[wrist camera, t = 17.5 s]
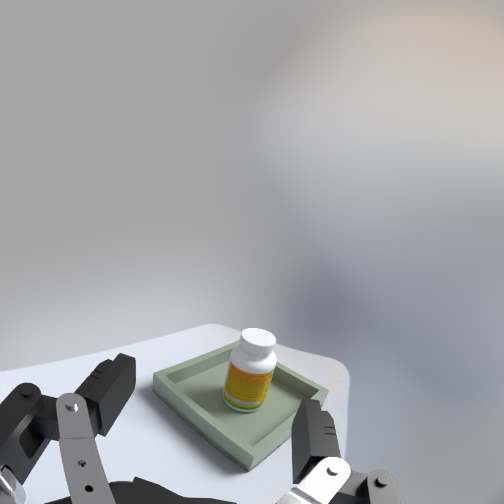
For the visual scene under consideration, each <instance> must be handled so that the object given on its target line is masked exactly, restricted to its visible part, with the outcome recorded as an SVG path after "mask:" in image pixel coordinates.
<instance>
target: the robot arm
mask: <svg viewBox="0 0 504 504" xmlns="http://www.w3.org/2000/svg"><path fill="white" fill-rule="evenodd" d="M135 384H136V360H135V358H134V357H131V356H128V355H125V354H122V353H120V354H118V356H117V357H116V358H115V359H114V360H113V361H112V360H109V359H107V360H105V361H103V362H101V363H100V364H99V365H98V366H97V367H96V368H95V369H94V371H92V373H91V374H90V376H88V377H87V378H86V379H85V381H84V382H83V383H82V384H81V385H80V386H79V388H78V389H77V390H76V391H75V392H74V393H66V394H63V395H61V396H60V397H59V398H54V397H50V396H46V395H42V394H41V391H40V389H39V388H38V387H37V386H36V385H34V384H32V383H22V384H19V385H18V386H17V387H16V388H15V389H14V390H13V391H12V392H11V393H10V394H9V395H8V396H7V397H6V398H5V399H4V401H3V402H2V403H1V404H0V504H24V502H25V499H26V494H25V491H24V489H23V487H22V485H23V483H24V482H25V480H26V479H27V477H28V475H29V474H30V472H31V470H32V469H33V467H34V466H35V464H36V462H37V461H38V459H39V458H40V456H41V455H42V453H43V451H44V450H45V448H46V447H47V445H48V444H49V442H50V441H51V440H55V441H59V446H60V451H61V457H62V462H63V467H64V472H65V476H66V481H67V485H68V489H69V493H70V496H69V497H66V498H62V499H59V500H56V501H52V502H49V503H45V504H237V503H234V502H228V501H222V500H217V499H212V498H188V497H182V496H180V495H178V494H176V493H174V492H172V491H170V490H168V489H166V488H164V487H162V486H160V485H159V484H155V483H152V482H149V481H146V480H143V479H141V478H138V477H134V480H133V482H129V481H116V482H110V483H108V481H107V478H106V475H105V472H104V469H103V466H102V463H101V460H100V456H99V453H98V449H97V446H96V442H95V437H96V436H97V434H100V435H102V436H104V437H105V436H106V435H107V433H108V432H109V430H110V428H111V427H112V425H113V423H114V422H115V420H116V419H117V417H118V415H119V414H120V412H121V411H122V409H123V407H124V406H125V404H126V403H127V401H128V399H129V398H130V396H131V395H132V393H133V391H134V388H135ZM291 438H292V469H293V484H298V485H297V486H296V487H295V488H292V489H291V490H290V491H289V492H288V493H286V494H285V495H284V496H283V497H282V498H281V499H280V500H279V501H278V502H277V503H275V504H401V500H400V496H399V492H398V488H397V483H396V479H395V477H394V476H393V475H392V474H391V473H390V472H388V471H385V470H374V471H372V472H371V473H370V474H369V475H367V474H362V473H358V472H355V471H352V470H350V468H349V466H348V465H347V463H346V462H345V461H343V460H341V456H340V451H339V445H338V440H337V435H336V430H335V425H334V420H333V418H332V417H331V415H330V414H329V412H328V411H321V406H320V401H319V400H315V399H307V398H303V399H302V401H301V403H300V406H299V408H298V410H297V413H296V415H295V417H294V419H293V423H292V428H291Z"/></svg>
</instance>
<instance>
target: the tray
mask: <svg viewBox="0 0 504 504" xmlns="http://www.w3.org/2000/svg"><path fill="white" fill-rule="evenodd" d="M238 344H239V341H236V342H234V343H231V344H229V345H226V346H224V347H221V348H219V349H216V350H214V351H211V352H209V353H206V354H204V355H201V356H199V357H196V358H193V359H191V360H188V361H185V362H183V363H180V364H177V365H175V366H172V367H169V368H166V369H164V370H161V371H158V372H155V373H153V391H154V392H155V393H156V394H157V395H158V396H159V397H160V398H161V399H162V400H163V401H164V402H165V403H166V404H167V405H168V406H169V407H170V408H171V409H173V410H174V411H175V412H176V413H177V414H178V415H179V416H180V417H181V418H182V419H183V420H184V421H186V422H187V423H188V424H189V425H190V426H191V427H192V428H193V429H195V430H196V431H197V432H198V433H199V434H200V435H201V436H203V437H204V438H205V439H206V440H207V441H209V442H210V443H211V444H212V445H213V446H215V447H216V448H217V449H218V450H220V451H221V452H222V453H223V454H225V455H226V456H227V457H229V458H230V459H231V460H233V461H234V462H235V463H237V464H238V465H239V466H241V467H242V468H243V469H245V470H246V471H248V472H249V471H251V470H252V469H253V468H254V467H256V466H257V465H258V464H259V463H261V462H262V461H263V460H264V459H265V458H267V457H268V456H269V455H270V454H271V453H273V452H274V451H275V450H276V449H277V448H278V447H279V446H281V445H282V444H283V443H284V442H285V441H286V440H287V439H288V438H290V437H291V428H292V423H293V419H294V417H295V415H296V413H297V410H298V408H299V406H300V403H301V401H302V399H303V398H307V399H315V400H319V401H320V406H321V407H322V405H323V403H324V401H325V399H326V396H327V394H328V392H329V390H328V389H326V388H324V387H322V386H320V385H318V384H316V383H314V382H313V381H311V380H309V379H307V378H305V377H303V376H301V375H300V374H298V373H296V372H294V371H292V370H291V369H289V368H287V367H285V366H283V365H282V364H280V363H278V362H276V366H275V369H274V372H273V376H272V379H271V382H270V386H269V389H268V392H267V396H266V399H265V402H264V404H263V406H262V407H261V408H260V409H259V410H257V411H254V412H240V411H237V410H234V409H232V408H231V407H229V406H228V405H227V404H226V403H225V401H224V400H223V388H224V383H225V378H226V374H227V369H228V364H229V359H230V355H231V351H232V349H233V348H234V347H235V346H237V345H238Z"/></svg>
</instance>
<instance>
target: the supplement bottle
mask: <svg viewBox="0 0 504 504" xmlns="http://www.w3.org/2000/svg"><path fill="white" fill-rule="evenodd" d="M275 343H276V338H275V337H274V335H273V334H271V333H270V332H268V331H265V330H262V329H258V328H249V329H245V330H243V331H242V333H241V336H240V340H239V344H238V345H237V346H235V347H234V348H233V349H232V351H231V355H230V359H229V364H228V369H227V374H226V378H225V383H224V388H223V400H224V401H225V403H226V404H227V405H228V406H229V407H231V408H232V409H234V410H237V411H240V412H254V411H257V410H259V409H260V408H261V407H262V406H263V404H264V402H265V399H266V396H267V392H268V389H269V386H270V382H271V379H272V376H273V372H274V369H275V366H276V356H275V354H274V353H273V351H274V347H275Z"/></svg>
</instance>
